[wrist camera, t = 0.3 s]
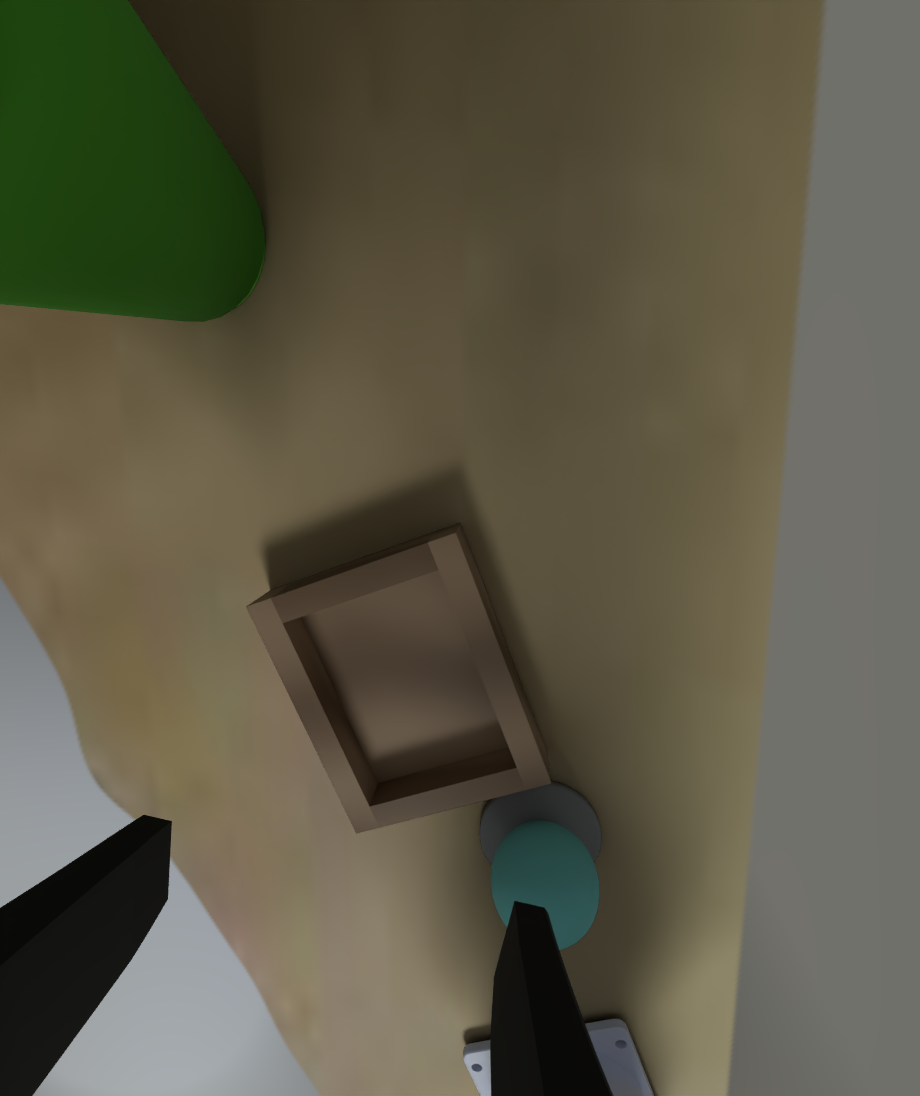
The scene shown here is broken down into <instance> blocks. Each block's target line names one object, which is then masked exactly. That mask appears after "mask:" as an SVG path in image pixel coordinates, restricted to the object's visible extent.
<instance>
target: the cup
mask: <svg viewBox="0 0 920 1096" xmlns="http://www.w3.org/2000/svg"><path fill="white" fill-rule="evenodd" d="M264 255H265V234H264V227H263V221H262V215H261V211H260V208H259V205H258V203H257V200H256V198H255V195H254V192H253V190H252V188H251V187H250V185H249V184H248V182H247V181H246V179H245V178H244V176H243V175H242V173H241V171H240V170H239V168H238V167H237V165H236V164H235V162H234V161H233V159H232V158H231V156H230V155H229V153H228V152H227V150H226V149H225V147H224V146H223V144H222V142H221V141H220V139H219V138H218V136H217V135H216V133H215V132H214V130H213V129H212V127H211V126H210V124H209V123H208V121H207V120H206V118H205V117H204V115H203V114H202V112H201V111H200V109H199V107H198V106H197V104H196V103H195V101H194V100H193V98H192V97H191V95H190V94H189V92H188V91H187V89H186V88H185V86H184V85H183V83H182V82H181V80H180V79H179V77H178V76H177V74H176V73H175V71H174V69H173V68H172V66H171V65H170V63H169V62H168V60H167V59H166V57H165V56H164V54H163V53H162V51H161V50H160V48H159V47H158V45H157V44H156V42H155V41H154V39H153V38H152V36H151V34H150V33H149V31H148V30H147V28H146V27H145V25H144V24H143V22H142V21H141V19H140V18H139V16H138V15H137V13H136V12H135V10H134V9H133V7H132V6H131V4H130V3H129V1H128V0H0V304H5V305H16V306H27V307H37V308H48V309H59V310H70V311H80V312H91V313H102V314H113V315H123V316H134V317H145V318H156V319H166V320H177V321H201V322H203V321H207V320H211V319H214V318H218V317H221V316H223V315H224V314H226V313H228V312H229V311H231V310H233V309H234V308H236V307H237V306H239V305H240V304H241V303H242V302H243V301H244V300H245V299H246V298H247V297H248V296H249V295H250V294H251V292H252V290H253V288H254V287H255V285H256V283H257V281H258V279H259V277H260V274H261V270H262V266H263V262H264Z"/></svg>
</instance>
